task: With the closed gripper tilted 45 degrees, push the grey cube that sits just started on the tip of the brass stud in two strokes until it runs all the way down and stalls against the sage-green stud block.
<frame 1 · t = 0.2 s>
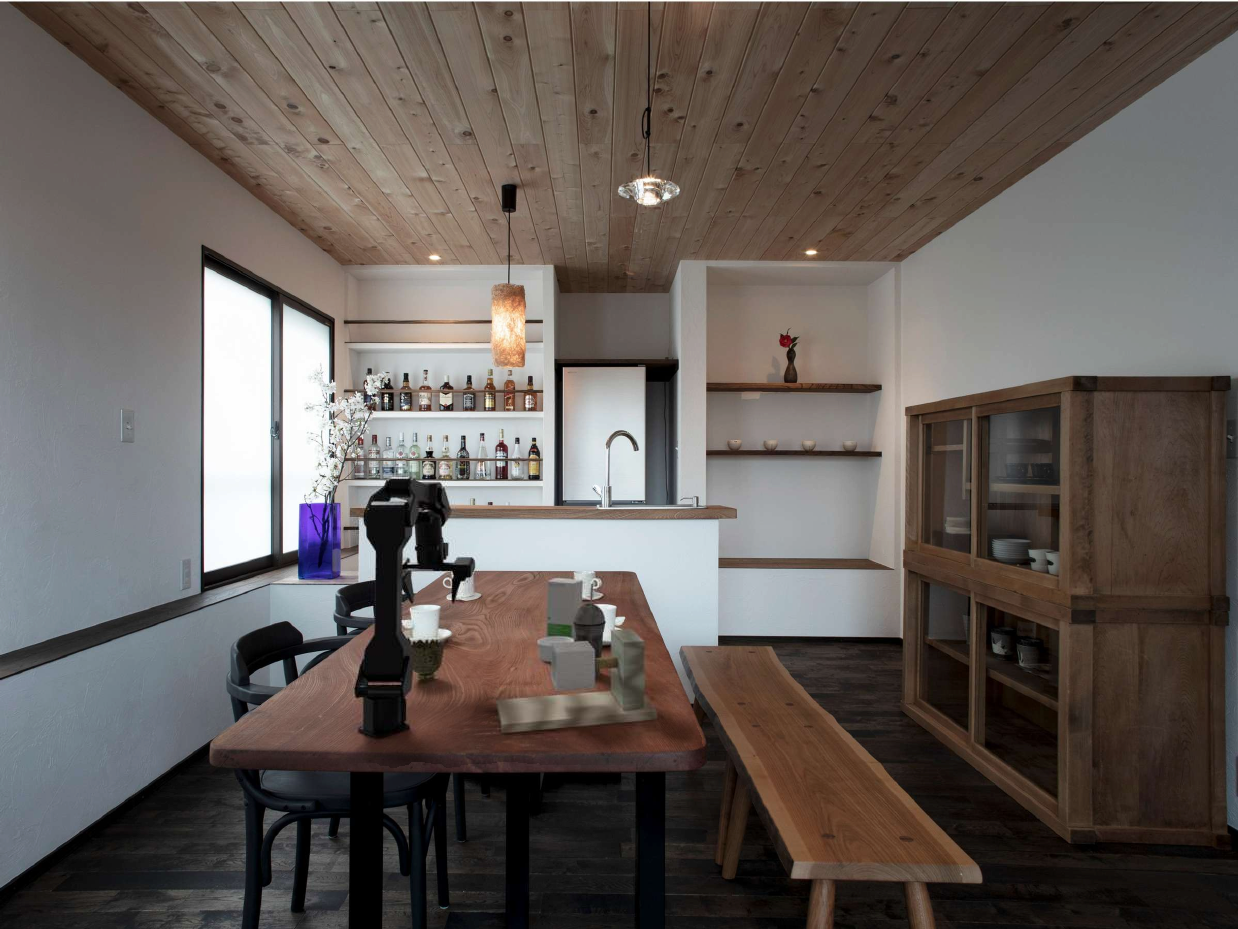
hand: (433, 602, 156), 15 cm above the table, tool pointing down, fingers open, 9 cm apart
skincare box: (564, 638, 187), on the table
stud block: (554, 715, 128), on the table
cup: (426, 680, 149), on the table
beverage cup: (589, 675, 154), on the table
grey cube: (572, 665, 129), point 9 cm above the table, slide at 0.0 cm
ramekin: (555, 659, 167), on the table
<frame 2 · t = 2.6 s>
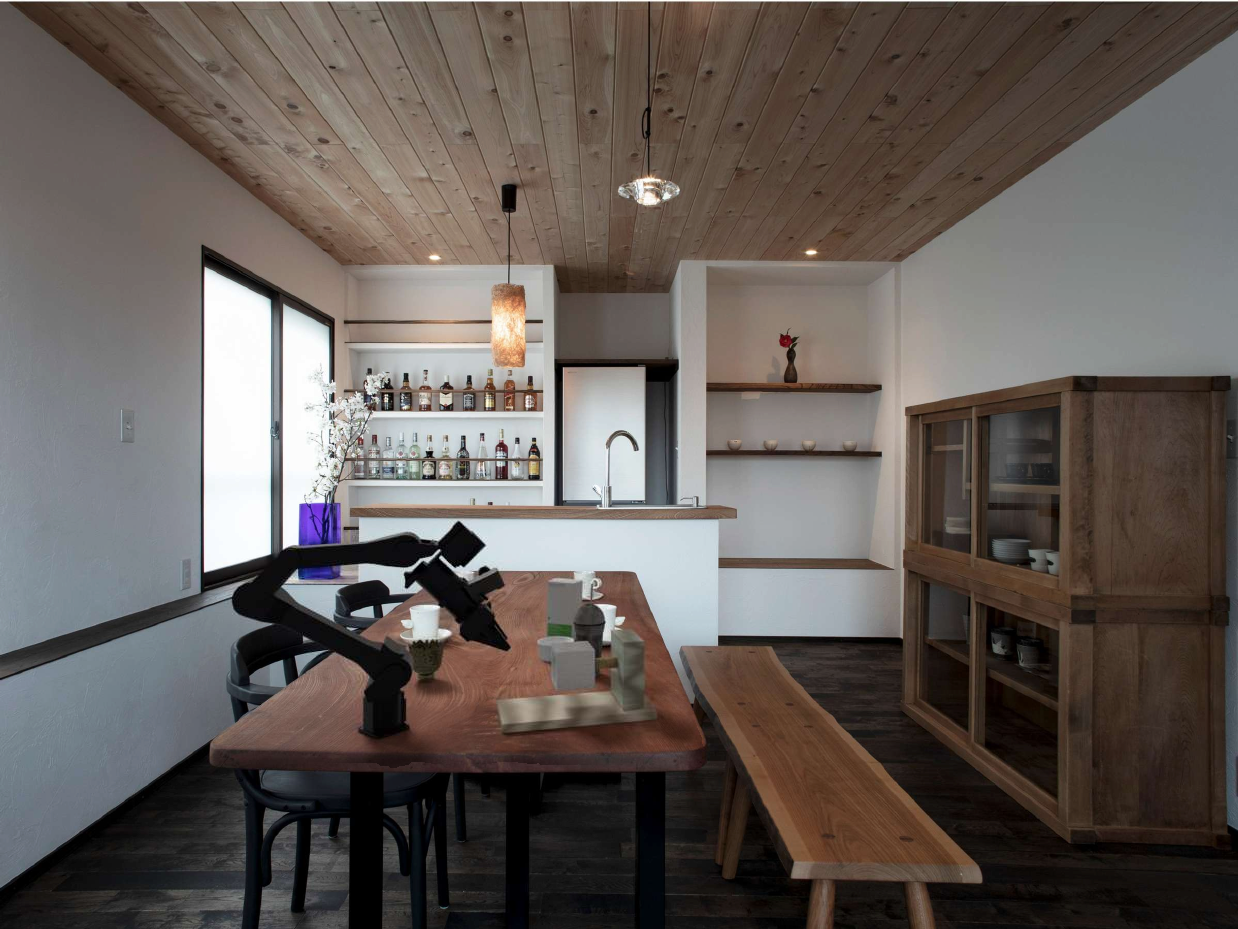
hand: (507, 644, 126), 14 cm above the table, tool tilted 45°, fingers open, 6 cm apart
nothing on the table moved.
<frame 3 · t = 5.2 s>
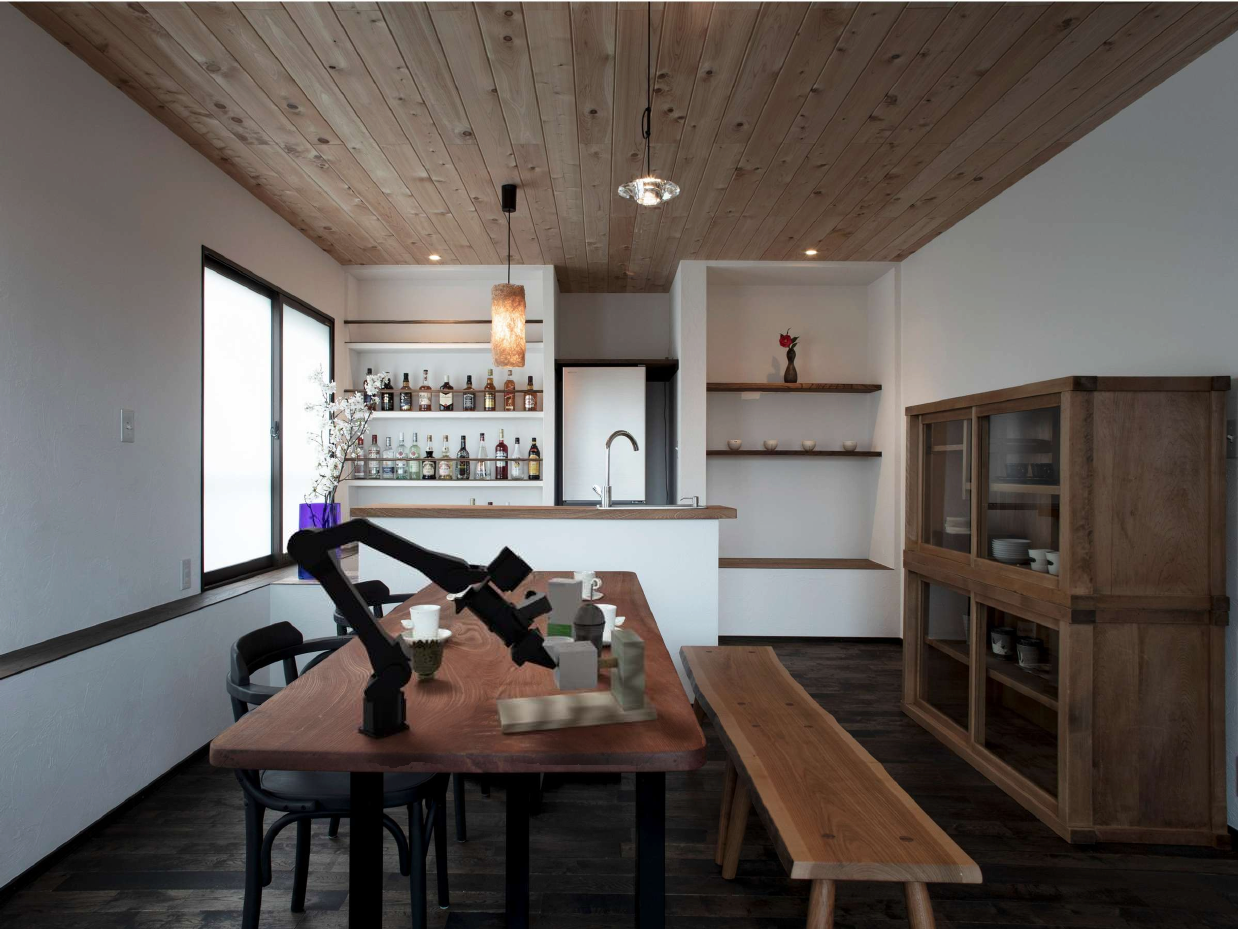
hand: (555, 667, 128), 9 cm above the table, tool tilted 45°, fingers closed, pressing on grey cube
grey cube: (575, 665, 129), point 9 cm above the table, slide at 0.5 cm, touching gripper
everything else where it was.
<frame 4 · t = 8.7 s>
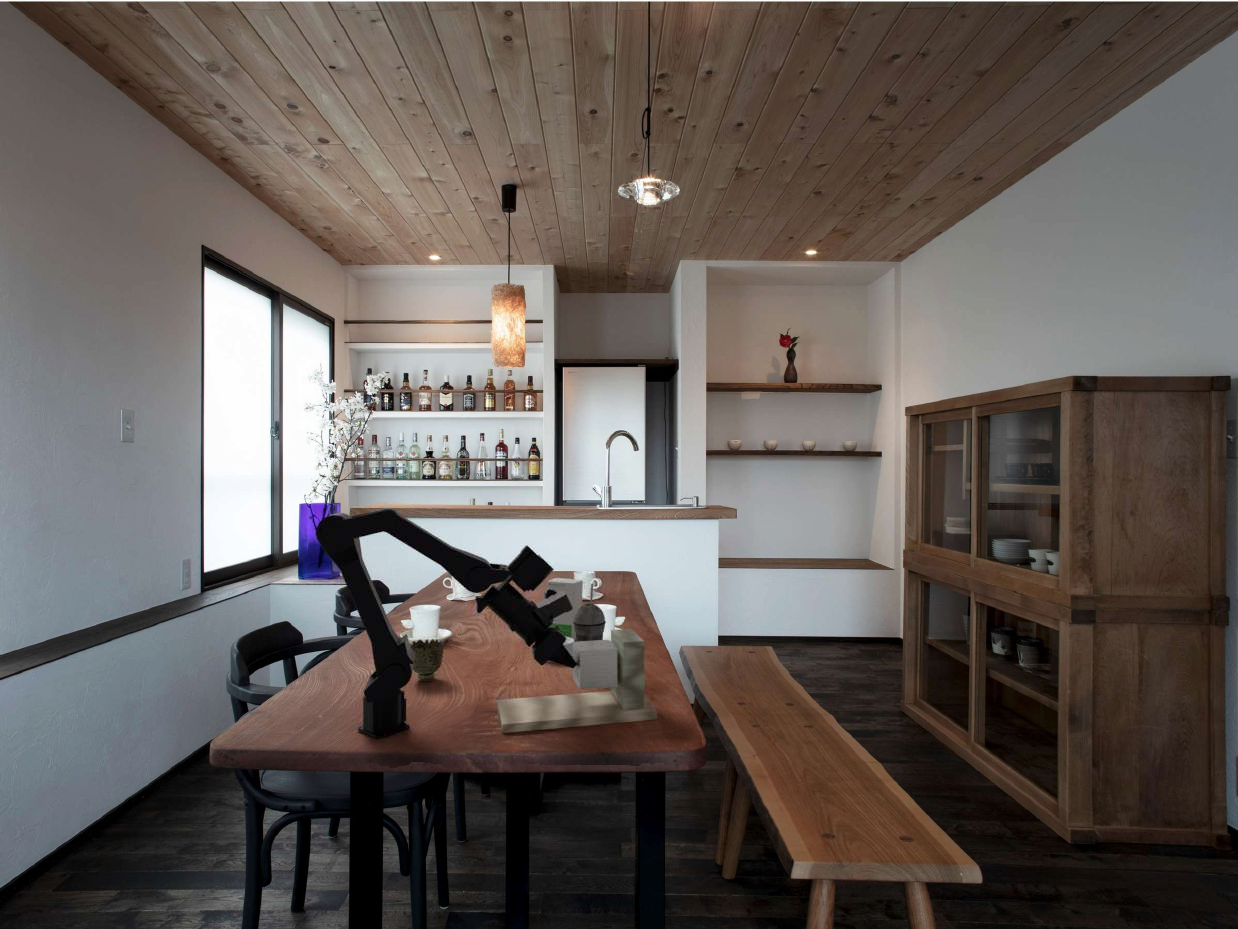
hand: (575, 666, 129), 9 cm above the table, tool tilted 45°, fingers closed, pressing on grey cube
grey cube: (594, 663, 130), point 9 cm above the table, slide at 4.2 cm, touching gripper
everything else where it was.
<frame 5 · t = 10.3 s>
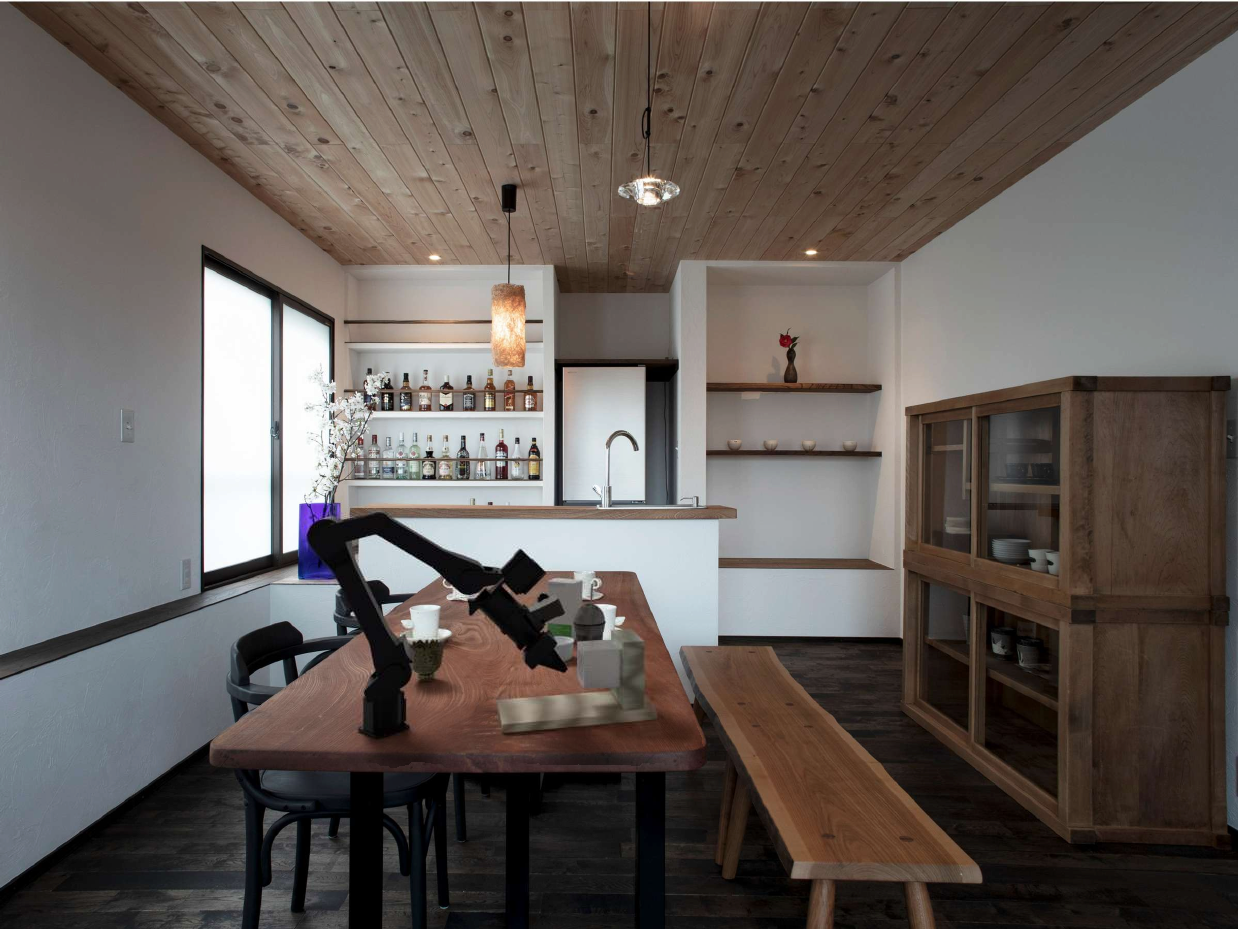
hand: (565, 670, 129), 8 cm above the table, tool tilted 45°, fingers closed
grey cube: (598, 663, 130), point 9 cm above the table, slide at 5.0 cm, touching stud block
everything else where it was.
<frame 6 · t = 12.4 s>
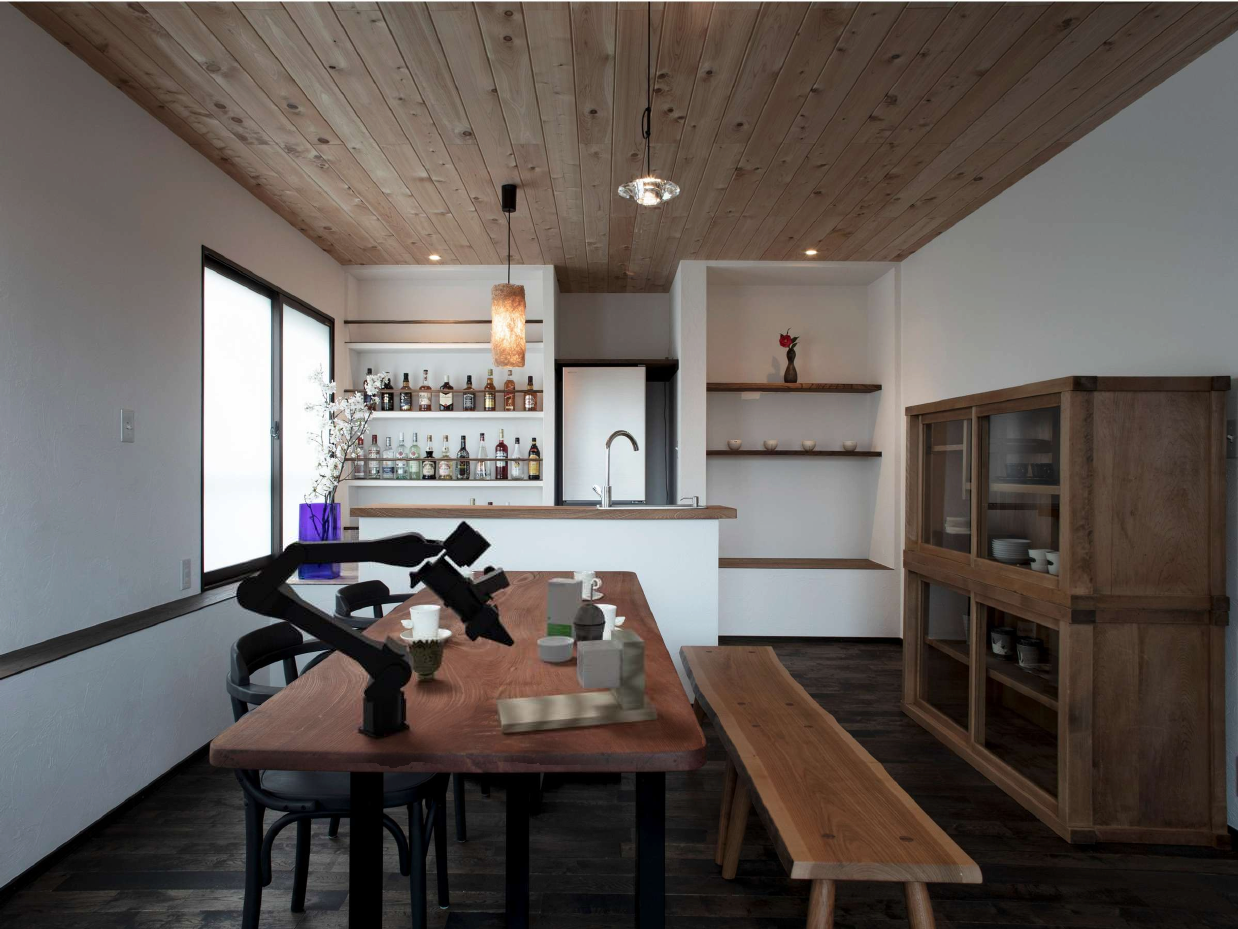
hand: (512, 644, 126), 14 cm above the table, tool tilted 45°, fingers closed
nothing on the table moved.
at the end: grey cube slide at 5.0 cm; the gripper is holding nothing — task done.
